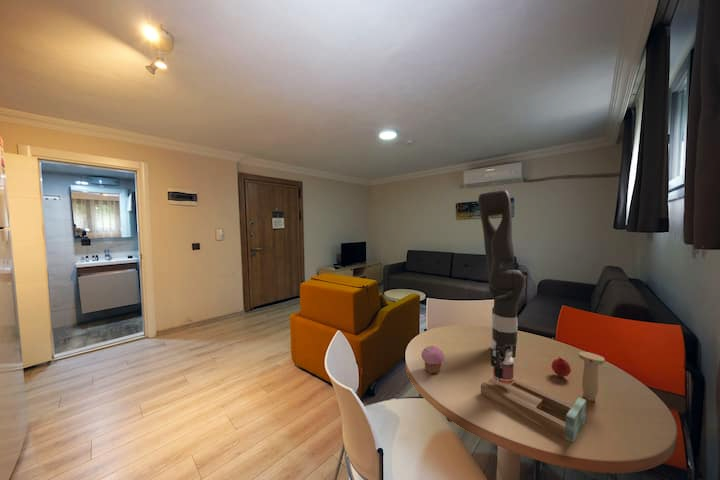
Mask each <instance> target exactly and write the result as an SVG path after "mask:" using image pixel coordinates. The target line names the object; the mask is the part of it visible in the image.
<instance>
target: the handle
mask: <svg viewBox="0 0 720 480" xmlns="http://www.w3.org/2000/svg"><path fill="white" fill-rule="evenodd" d="M578 357H579V359H580V360H582V361H584V367H583V373H582V380H581V381H582V382H581V385H582V386H581V388H582V392H583V393H582V397H583V399H585V400H586V401H589V402H590V401H593V402H595V401H596V399H597V398H596V397H597V394H598V391H599V390H598V389H599V376H598V375H599V373H598V372H599V369H598V368H599V365H604V364H605V362H606V359H605V357H604V356H601V355H599V354H597V353H592V352H589V351H579V352H578Z"/></svg>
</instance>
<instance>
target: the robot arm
mask: <svg viewBox="0 0 720 480" xmlns="http://www.w3.org/2000/svg"><path fill="white" fill-rule="evenodd" d="M477 201H478V209H479V215H480V220H481V224H482V230H483V239H484V241H483V242H484V250H485V258H486V264H487V273H488V275H487V276H488V291H489V296H490V297H491V298H492V299H494V300H493V307H492V311H491V343H490V344H491V346H490V347H491V349H490V365H491V367H493V366H494V367H495V376H496V377H498V378H500V379H501V378H502V372H503V368H502V367H503V363H504V362H505V361H506V358H507V354H508V353H509V351H511V357H512V358H513V359H514V358H516V354H517V342H518V327H519V325H518V303H519V300H520V296H521V294H522V291H523V290H524V287H525V281H526V279H525V275H524V274H523V273H522V271H520V270H518V269H503V268H504V267H505V266H509V265H512V264H513V263H515V258H516V257H515V251H514V246H513V239H512V237H513V235H512V234H513V233H512V232H513V231H512V230H513V229H512V228H513V225H512V224H513V221H512V219H513V218H512V203H511V196H510V194H509V191H507V190H505V189H504V190H503V189H501V190H496V191H490V192H489V191H488V192H484V193H479V196H478V200H477ZM498 215H502V217H501V222H500V223H499V225H498V227H496V225H494V223H493V221H492V219H491V216H498ZM500 356H501V357H503V358H500ZM500 361H501V363H500Z"/></svg>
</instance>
